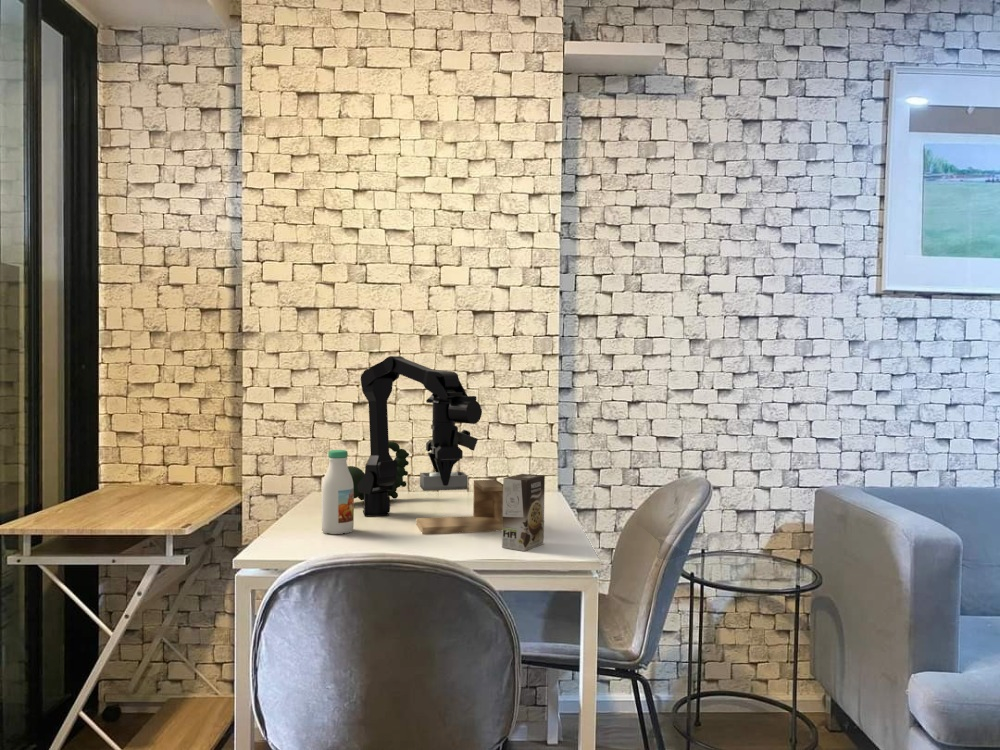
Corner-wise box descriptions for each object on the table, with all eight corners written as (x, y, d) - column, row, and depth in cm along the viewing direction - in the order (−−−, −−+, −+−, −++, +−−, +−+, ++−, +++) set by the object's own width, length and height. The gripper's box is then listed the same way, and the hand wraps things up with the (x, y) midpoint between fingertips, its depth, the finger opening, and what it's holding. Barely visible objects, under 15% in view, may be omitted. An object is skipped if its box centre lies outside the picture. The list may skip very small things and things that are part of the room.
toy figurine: (396, 502, 241) (316, 502, 228) (402, 440, 241) (323, 436, 228) (409, 507, 233) (327, 507, 220) (414, 443, 233) (333, 440, 220)
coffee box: (525, 552, 176) (526, 480, 175) (501, 547, 179) (501, 477, 179) (545, 543, 184) (546, 474, 183) (521, 540, 187) (522, 472, 187)
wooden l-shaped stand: (422, 534, 192) (422, 489, 192) (416, 524, 202) (416, 481, 202) (505, 530, 197) (506, 486, 197) (495, 521, 208) (495, 479, 207)
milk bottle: (326, 536, 189) (326, 453, 188) (318, 529, 195) (318, 449, 195) (357, 533, 192) (358, 451, 192) (348, 526, 199) (348, 448, 198)
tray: (423, 490, 194) (423, 475, 194) (419, 486, 200) (420, 471, 200) (467, 489, 197) (467, 474, 197) (462, 485, 203) (462, 470, 203)
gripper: (483, 424, 191) (482, 488, 191) (467, 418, 209) (467, 476, 209) (438, 424, 188) (437, 489, 189) (426, 418, 206) (425, 477, 207)
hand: (443, 483), depth 198 cm, fingers closed on tray, 6 cm apart
